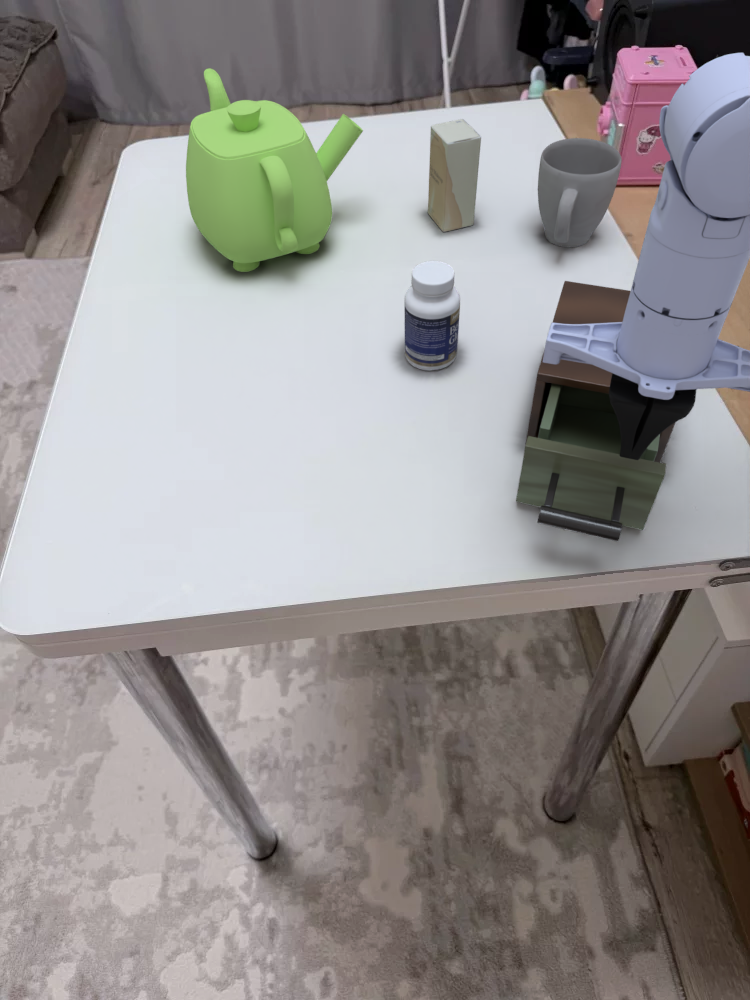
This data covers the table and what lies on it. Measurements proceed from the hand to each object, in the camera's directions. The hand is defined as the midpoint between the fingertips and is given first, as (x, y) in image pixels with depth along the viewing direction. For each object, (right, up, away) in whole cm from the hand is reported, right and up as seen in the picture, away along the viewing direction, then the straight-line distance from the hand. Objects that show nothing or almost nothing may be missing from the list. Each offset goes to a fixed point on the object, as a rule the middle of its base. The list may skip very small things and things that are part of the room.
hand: (630, 449), depth 54 cm
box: (-9, +31, +38) cm, 50 cm away
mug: (+4, +27, +34) cm, 44 cm away
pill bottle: (-13, +11, +22) cm, 28 cm away
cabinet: (+3, +5, +16) cm, 17 cm away
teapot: (-30, +30, +39) cm, 58 cm away
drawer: (-1, -2, +9) cm, 9 cm away
